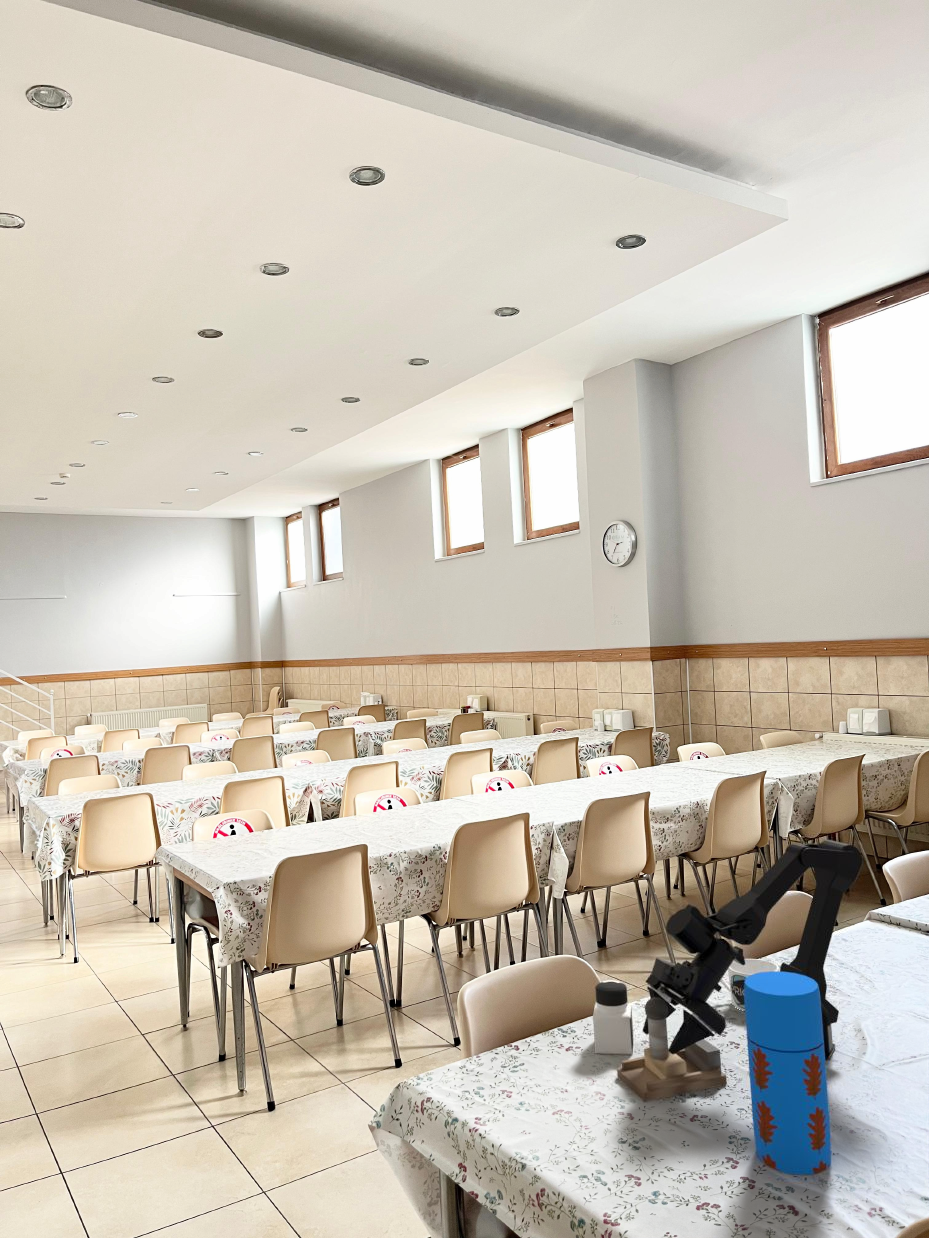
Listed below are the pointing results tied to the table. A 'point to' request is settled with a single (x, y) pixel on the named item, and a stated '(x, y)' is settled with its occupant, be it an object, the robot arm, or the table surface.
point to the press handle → (660, 1043)
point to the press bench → (700, 1075)
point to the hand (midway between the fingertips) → (657, 1042)
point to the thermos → (787, 1072)
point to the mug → (740, 974)
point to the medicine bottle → (612, 1019)
